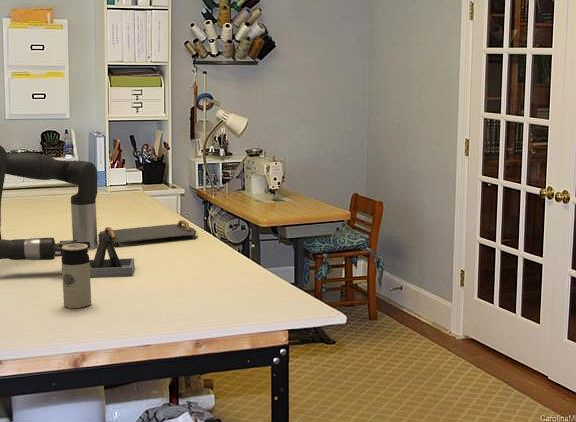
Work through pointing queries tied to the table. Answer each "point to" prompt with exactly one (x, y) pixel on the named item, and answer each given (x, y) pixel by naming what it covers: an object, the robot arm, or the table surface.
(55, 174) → the robot arm
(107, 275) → the tray
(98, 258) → the phone stand
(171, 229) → the serving board
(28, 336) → the table surface
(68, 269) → the travel mug
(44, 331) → the table surface
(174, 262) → the table surface
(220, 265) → the table surface
